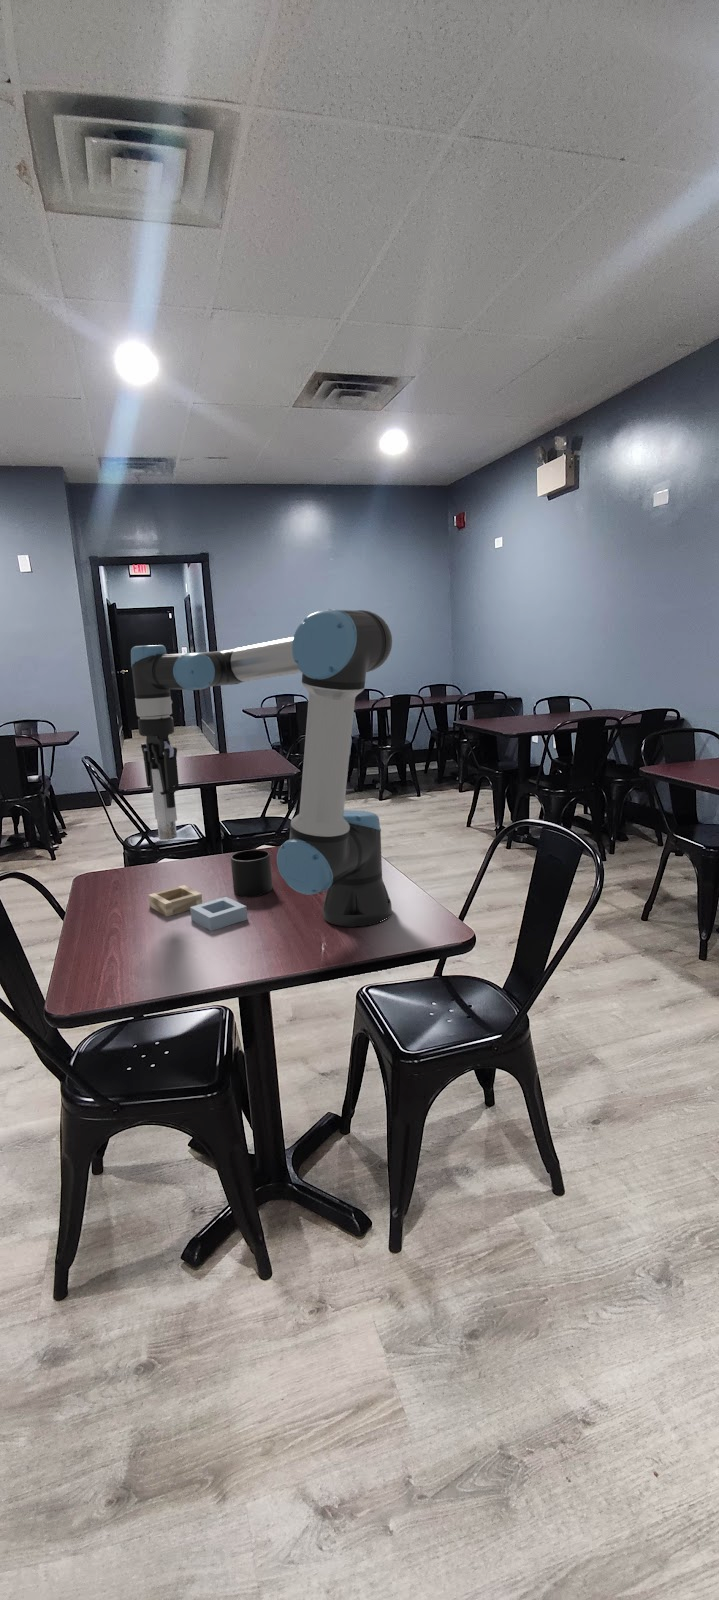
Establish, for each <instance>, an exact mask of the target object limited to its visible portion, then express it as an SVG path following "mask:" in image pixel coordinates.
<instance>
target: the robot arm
mask: <svg viewBox="0 0 719 1600" xmlns="http://www.w3.org/2000/svg"><path fill="white" fill-rule="evenodd" d="M392 647H393V637H392V632H391V630H390V626H389V625H388V624H387V623H386V621H385V620H384V618H382V617H381V616H380V615H378V614H376V613H374V612H372V611H369V610H364V609H363V610H360V609H359V610H348V609H345V610H344V609H336V608H335V609H330V608H328V609H325V610H319V611H316V612H313V613H310V614H309V615H308V616H306V617H305V618H304V619H303V620H302V621H301V622H300V623H299V624H298V626H297V627H296V629H295V632H294V635H293V636H291V637H287V638H286V637H285V638H280V639H276V640H271V641H267V642H261V643H256V644H251V645H247V646H246V645H245V646H242V647H236V648H231V649H225V650H219V651H217V650H216V651H204V652H202V651H201V652H199V651H198V652H196V651H195V652H185V653H182V652H181V653H169V654H168V653H167V649H166V646H165V645H163V644H158V645H157V644H155V645H153V644H152V645H135V646H133V647H132V648H131V649H130V664H131V665H130V667H131V673H132V674H131V675H132V680H133V690H134V697H135V698H134V700H135V708H136V709H135V711H136V716H137V717H138V719H137V724H138V725H137V726H138V733H139V735H140V736H141V737H146V741H145V743H141V744H140V748H141V751H142V756H143V763H144V771H145V777H146V786H147V787H149V788H150V790H151V791H152V797H153V798H152V800H153V807H154V809H153V810H154V817H155V818H154V819H155V820H157V816H156V807H155V798H154V789H153V780H152V771H151V769H152V768H158V767H159V772H160V778H161V783H162V788H163V792H160V794H161V795H162V804H163V813H164V822H165V823H167V822H172V821H175V822H176V821H178V816H177V807H176V798H175V793H176V792H178V791H179V790H180V784H179V773H178V770H179V769H178V760H177V755H178V748H177V747H176V746H174V747H172V746H171V741H170V738H169V735H172V734H174V733H175V725H174V724H175V723H174V718H173V716H170V715H172V714H173V708H172V707H173V706H172V704H173V700H172V698H171V690H182V691H183V690H188V691H192V692H193V691H199V690H205V689H207V688H210V687H211V688H212V687H217V686H218V687H219V686H227V685H229V686H230V685H240V684H241V683H245V682H250V681H251V682H252V681H258V680H262V679H263V680H264V679H269V678H270V679H271V678H276V677H281V676H288V675H295V674H300V673H302V675H301V684H302V686H303V687H305V689H306V690H307V691H308V699H307V700H308V701H307V714H306V715H307V716H306V726H305V727H306V728H305V739H304V754H303V766H302V775H301V777H302V778H301V779H302V780H301V788H300V789H301V791H300V803H299V813H298V814H297V815H295V816H294V817H293V818H292V819H291V820H290V827H289V829H290V830H289V839H287V840H286V841H285V842H283V843H282V844H281V846H280V847H279V848H278V850H277V853H276V865H277V869H278V872H279V874H280V877H282V879H284V881H285V883H286V884H287V886H288V887H290V888H291V889H292V890H294V891H295V892H297V893H299V894H301V895H308V896H310V895H311V896H312V895H317V894H318V893H320V892H325V891H326V892H325V897H324V901H323V904H322V917H323V919H324V921H326V922H328V923H329V924H331V925H334V926H335V925H336V926H337V927H338V926H339V927H346V928H348V927H349V928H353V927H354V928H357V927H356V926H361V927H366V926H365V925H369V926H371V925H370V924H373V925H375V924H374V923H377V922H380V921H382V920H384V919H386V918H388V917H389V916H390V915H391V916H392V914H391V913H392V912H393V911H392V910H393V909H392V908H393V907H392V901H391V899H390V896H389V894H388V893H389V892H388V890H387V888H386V885H385V882H384V881H383V865H382V864H383V863H382V861H383V860H382V840H381V839H382V836H381V832H382V828H381V826H380V818H379V816H378V815H377V814H376V813H374V812H371V811H365V810H355V809H353V810H350V809H349V810H348V809H347V810H346V809H345V802H346V794H347V782H348V774H349V773H348V772H349V763H350V755H351V754H350V753H351V743H352V735H353V734H352V732H353V724H354V723H353V721H354V713H355V704H356V697H357V696H358V695H359V694H361V693H363V691H364V690H365V687H366V686H365V685H366V678H367V677H366V675H367V673H369V672H373V671H374V670H377V669H378V668H380V667H381V666H382V665H384V664H385V663H386V661H387V659H388V658H389V657H390V654H391V651H392ZM391 916H390V917H391ZM390 917H389V918H390ZM389 918H388V919H389ZM386 920H387V919H386ZM382 922H383V921H382ZM380 923H381V922H380ZM377 924H378V923H377Z"/></svg>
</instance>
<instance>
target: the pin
mask: <svg viewBox="0 0 719 1600" xmlns="http://www.w3.org/2000/svg"><path fill="white" fill-rule="evenodd" d="M151 771H152V780H153V789H154V798H155V807H156V816H157V819H156V822H157V823H156V824H157V832H158V839H159V840H163V841H165V840H166V841H167V840H172V839H175V838H177V837H178V833H177V823H176V821H172V822H167V823H165V822H164V813H163V804H162V795H161V794H160V792H163V788H162V783H161V778H160V772H159V767H158V768H152V769H151Z"/></svg>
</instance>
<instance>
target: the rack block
mask: <svg viewBox="0 0 719 1600" xmlns="http://www.w3.org/2000/svg"><path fill="white" fill-rule="evenodd" d="M148 901H149V907H150V908H151V909H153V910H155V911H156V912H158V913H160V914H161V915H163V916H165V917H171V916H173V915H176V914H179V913H184V912H186V911H187V912H188V911H190V907H192V906H196V905H199V904H202V903H203V895H202V893H201V892H198V891H196V890H195V889H193V888H190V887H188V886H187V885H185V884H183V885H179V886H175V887H171V888H168V889H165V890H161V891H156V892H153V893H149V894H148Z"/></svg>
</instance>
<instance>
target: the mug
mask: <svg viewBox="0 0 719 1600" xmlns="http://www.w3.org/2000/svg"><path fill="white" fill-rule="evenodd" d="M230 864H231V865H230V866H231V873H232V884H233V885H232V887H233V893H234V894H235V895H236V896H239V897H246V898H247V897H252V898H253V897H259V896H263V895H265V894H268V893H270V892H271V891H272V890H273V877H272V863H271V854H270V852H269V851H268V850H263V849H248V850H247V849H246V850H242V851H239V852H236V853H234V854H232V855H231V856H230Z"/></svg>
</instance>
